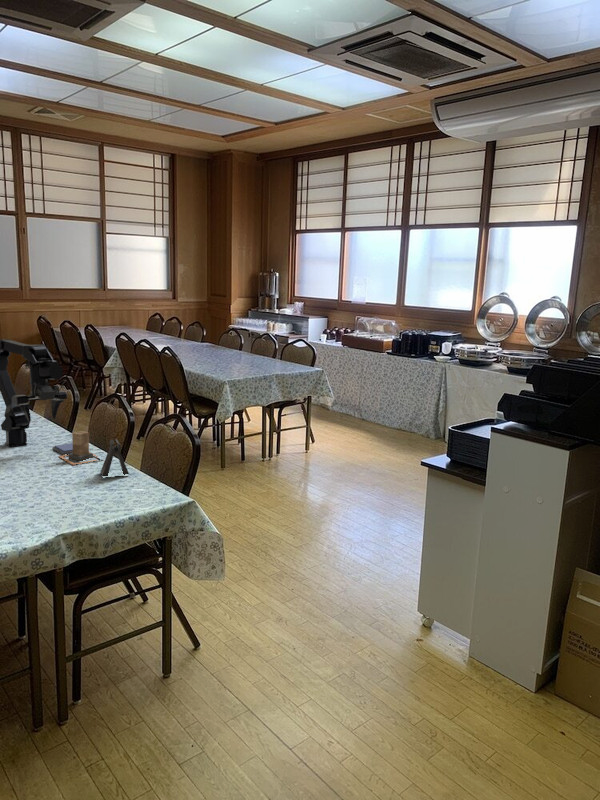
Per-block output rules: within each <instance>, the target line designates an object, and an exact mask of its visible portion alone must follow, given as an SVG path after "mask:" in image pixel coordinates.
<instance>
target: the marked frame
mask: <svg viewBox="0 0 600 800" xmlns="http://www.w3.org/2000/svg"><path fill="white" fill-rule="evenodd" d="M89 453H92V452H91V451H89ZM93 455H94V456H96V455H97V454H94V453H93ZM65 456H68V457H69V454H68V455H62V454H61V455H58V458H59V457H60V458H59V459H61V458H62V460H63V459H64V460H65V462H66V461H67V462H66V463H68V464H69V463H70V465H71V464H72V465H71V466H73V465H74V466H77V465H76V464H80V465H83V464H82V463H86V464H88V463H87V462H92V461H97V460H98V459H94V460H93V459H91V460H86V461H83V462H73V461H72V460H70V459H69V458H68V459H67V458H66V457H65ZM94 456H93V457H94ZM96 457H98V455H97V456H96ZM96 457H95V458H96ZM64 460H63V461H64ZM92 463H93V462H92Z"/></svg>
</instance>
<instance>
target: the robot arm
mask: <svg viewBox="0 0 600 800" xmlns="http://www.w3.org/2000/svg"><path fill="white" fill-rule="evenodd" d="M11 353H13V354H17V355H20V356H22V358H23V359H25V360H27V361H28V362H27V363H26V364H25V365H24V366H25V367H27V368H29V380H30V381H29V382H28V385H30V390H31V391H30V393H29V394H30V395H29V396H28V395H26V394H17V392H16V390H15V387H14V385H13V383H12V379H11V377H10V374H9V371H8V365H9V357H10V356H11ZM63 374H64V371H63V368H62V366H61V365H60V364H58V361H57V360H54V358H53V356H52V354H51V353H50V352H49V349H48V348H47V346H46V345H45V344H27V343H24V342H19V341H16V340H12V339H10V338H4V339H3V338H2V339H1V338H0V394H1V397H2V399H3V402H4V404H5V410H4V411H5V412H4V420H3V421H2V422H1V424H0V427H1V430H2V431H4V432H5V442H4V445H6V446H8V447H9V448H13V447H21V446H27V445H28V443H27V442H28V441H27V440H28V439H27V436H28V435H27V432H26V429H29V428H30V423H31V420H32V417H31V412H30V403H29V402H31V401H32V402H33V401H47V400H50V405H51V415H52V419H56V417H57V413H58V411H59V407H60V405H61V403H63V402H65V400H68V393H67V392H66V391H64V390H60V387H59V385H52V386H51V385H50V383H49V380H60V379H61V378H62V376H63Z"/></svg>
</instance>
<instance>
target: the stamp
mask: <svg viewBox="0 0 600 800" xmlns="http://www.w3.org/2000/svg"><path fill="white" fill-rule="evenodd" d="M71 436H72V443H73V453H71V454H68V455H69V456H68V460H70V459H72V460H71V461H74V460H76V461H75V462H78V461H83V460H86V459H89V458H93V459H94V456H93V454H94V452H91V453H89V452H90V433H89V432H88V431H84V430H79V431H75V432H72V435H71ZM86 461H87V460H86ZM83 462H84V461H83Z"/></svg>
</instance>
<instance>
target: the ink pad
mask: <svg viewBox="0 0 600 800" xmlns="http://www.w3.org/2000/svg"><path fill="white" fill-rule="evenodd" d="M53 449H54V450H53ZM52 450H53V451H54V452H57V453H58V452H59V454H60V453H61V454H60V455H62V454H63V455H65V454H68V455H69V454H71V453H73V442H71V443H70V442H69V443H64V444H56V445H53V446H52Z"/></svg>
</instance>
